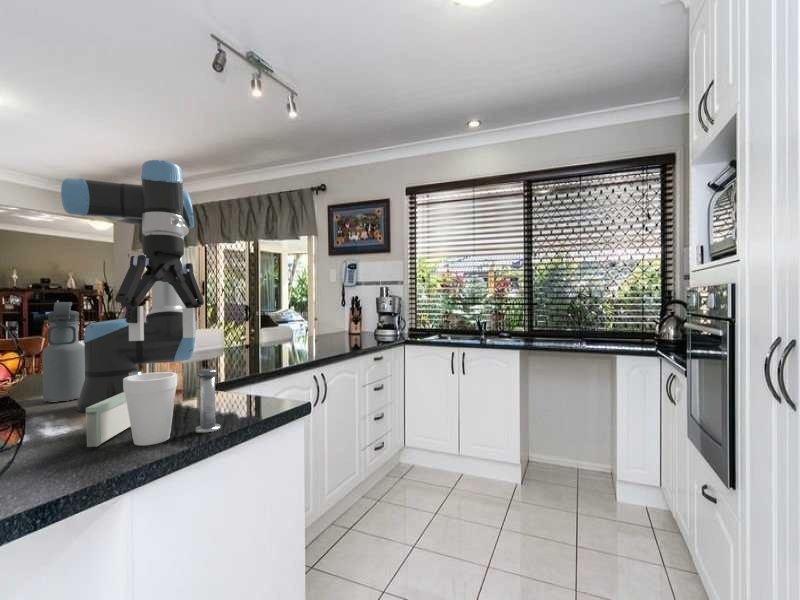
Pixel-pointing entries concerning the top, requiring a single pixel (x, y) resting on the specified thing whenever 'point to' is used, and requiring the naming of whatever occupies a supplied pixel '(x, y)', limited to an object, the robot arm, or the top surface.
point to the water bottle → (63, 356)
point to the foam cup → (150, 405)
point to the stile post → (207, 401)
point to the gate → (106, 419)
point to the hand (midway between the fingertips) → (164, 339)
